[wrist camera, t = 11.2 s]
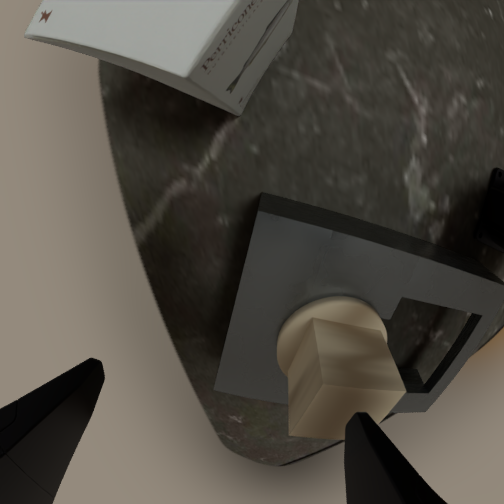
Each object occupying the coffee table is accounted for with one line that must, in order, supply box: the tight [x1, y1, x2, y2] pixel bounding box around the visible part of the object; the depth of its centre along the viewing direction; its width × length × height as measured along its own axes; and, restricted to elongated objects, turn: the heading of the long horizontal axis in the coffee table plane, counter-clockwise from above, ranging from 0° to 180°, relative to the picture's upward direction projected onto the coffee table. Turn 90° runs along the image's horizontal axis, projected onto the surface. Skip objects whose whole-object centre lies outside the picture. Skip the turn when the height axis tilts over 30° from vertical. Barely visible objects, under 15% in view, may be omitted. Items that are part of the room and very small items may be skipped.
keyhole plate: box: [214, 192, 504, 413], centre depth 20 cm, size 20×14×5 cm
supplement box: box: [24, 0, 299, 116], centre depth 10 cm, size 7×7×13 cm
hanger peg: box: [277, 296, 406, 440], centre depth 17 cm, size 7×7×10 cm
